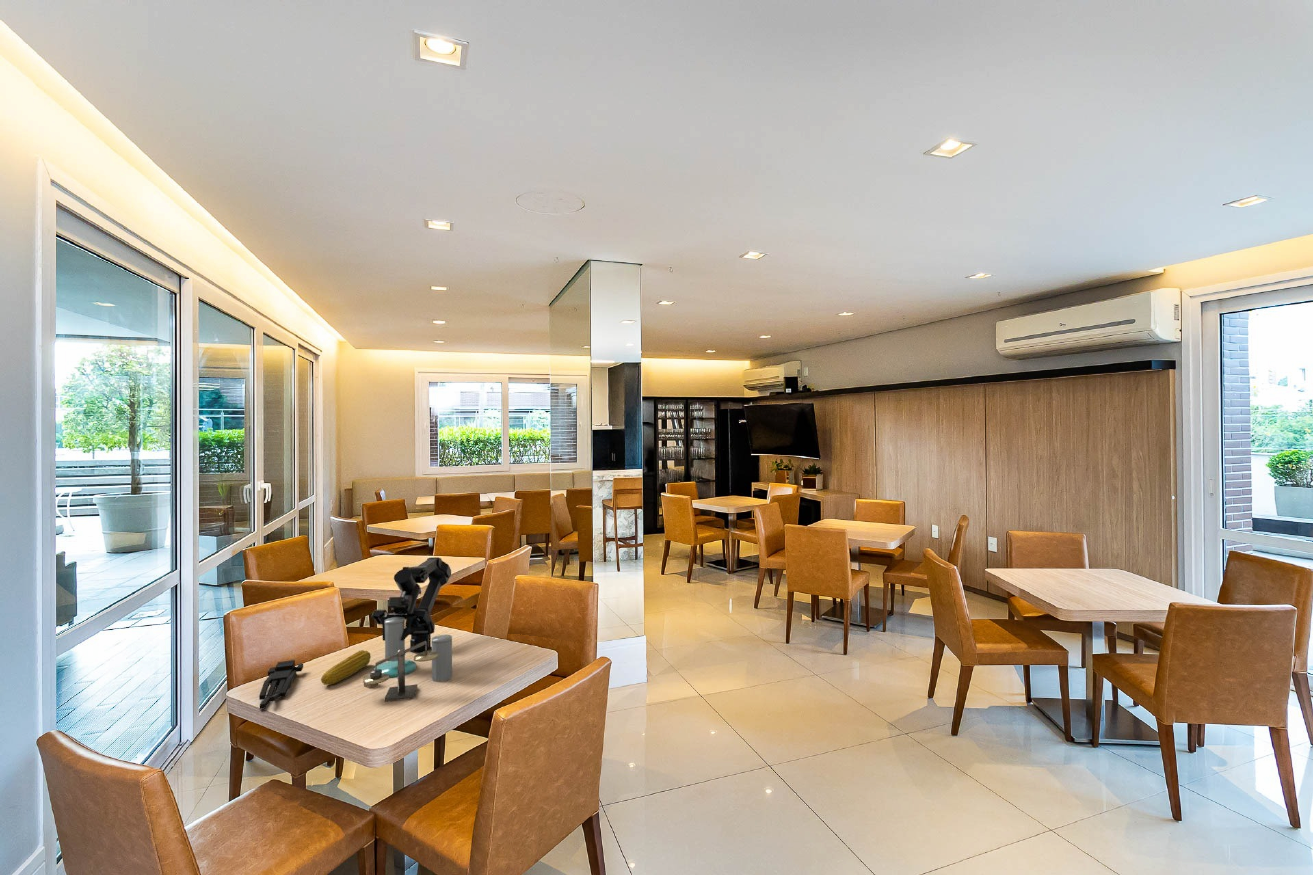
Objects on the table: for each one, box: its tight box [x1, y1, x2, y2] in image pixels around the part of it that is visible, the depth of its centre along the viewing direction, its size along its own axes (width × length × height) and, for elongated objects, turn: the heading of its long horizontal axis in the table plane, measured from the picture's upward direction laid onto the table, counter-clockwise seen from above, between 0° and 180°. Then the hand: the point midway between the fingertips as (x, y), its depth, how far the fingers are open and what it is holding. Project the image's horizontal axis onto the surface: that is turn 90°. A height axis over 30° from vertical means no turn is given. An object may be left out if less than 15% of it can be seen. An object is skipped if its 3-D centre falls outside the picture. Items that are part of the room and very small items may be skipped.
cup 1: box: [384, 617, 406, 662], centre depth 200 cm, size 6×6×13 cm
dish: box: [373, 659, 417, 679], centre depth 199 cm, size 13×13×1 cm
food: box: [320, 649, 371, 686], centre depth 195 cm, size 21×6×6 cm, turn 173°
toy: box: [258, 659, 304, 710], centre depth 184 cm, size 10×5×30 cm
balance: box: [362, 641, 438, 703], centre depth 179 cm, size 21×8×15 cm, turn 104°
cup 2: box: [431, 634, 453, 683], centre depth 192 cm, size 6×6×13 cm
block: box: [363, 674, 379, 689], centre depth 186 cm, size 3×3×3 cm
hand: (392, 640), depth 198 cm, fingers closed on cup 1, 6 cm apart
